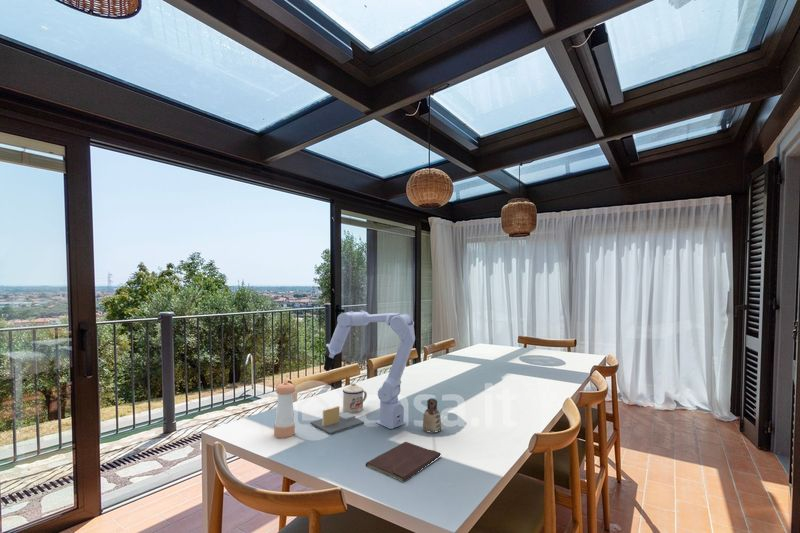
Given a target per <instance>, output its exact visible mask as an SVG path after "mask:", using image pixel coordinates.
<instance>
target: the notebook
mask: <svg viewBox="0 0 800 533" xmlns="http://www.w3.org/2000/svg"><path fill="white" fill-rule="evenodd" d="M440 455H441V456H442V453H441V452H440V451H436V450H432V449H427V448H425V447H422V446H420V445H416V444H414V443H410V442H408V441H404V442H402V443H400V444H398V445H396V446H394V447H393V448H391V449H388V450H387V451H385V452H384V453H382V454H380V455H377V456H376V457H374V458H372V459H370V460H369V461H368V460H367V461H366V463H365V466H366V467H368V468H370V469H373V470H375V471H377V472H379V471H380V473H382V474H384V473H385V474H384V475H386V474H387V475H386V476H389V475H390V476H389V477H391V476H392V478H393V477H395V478H397V479H396V480H398V479H400V480H402V481H405V480H407V479H408V478H410V477H411V476H413V475H414V474H415V475H417V474H418V473H419V472H418V471H420V470H421V469H422V468H424V467H425V466H427V465H428V464H430V463H431V462H432V461H434V460H435V459H436V458H438V457H439V456H440ZM430 465H431V464H430ZM427 467H428V466H427ZM424 469H425V468H424ZM421 471H422V470H421ZM421 471H420V472H421ZM417 472H418V473H417ZM416 473H417V474H416ZM415 475H414V476H415ZM414 476H413V477H414ZM395 478H394V479H395ZM411 478H412V477H411ZM411 478H410V479H411ZM400 480H399V481H400ZM408 480H409V479H408ZM408 480H407V481H408ZM402 481H401V482H402ZM405 482H406V481H405Z"/></svg>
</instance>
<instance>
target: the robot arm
mask: <svg viewBox="0 0 800 533" xmlns="http://www.w3.org/2000/svg"><path fill="white" fill-rule="evenodd" d="M336 322H337V324H336V327H335V329H334V332H333V334H332V337H331V340H330V342H329V343H326V345H325V347H327V348H328V352H325V354H324V366H323V370H324V371H326V372H329V371H330V370H331V368H332V367H333V365H334V363H336V362H337V361H338V359H339V358H338V357H337V356H338V355H339V354H340V353H342V350H343V347H344V344H345V342H346V340H347V337H348V334H349V332H350V330H351V327H355V326H360V327H361V326H367V325H368V324H369V323H385V324H386V325H387V327H388V326H390V328H391V330H392V331H393V332H394V333H395V334H396V335H397V336H398V338H399V340H400V343H399V345H398V349H397V351H396V353H395V356H394V359H393V361H392V364H391V367H390V370H389V372H388V375H387V377H386V379H385V380H384V382H383V383H382V386H380V388H379V389H378V391H377V397H378V399H379V402H380V403H379V409H380V410H379V419H378V420H375V423H376V424H378V425H380V426H383V427H385V428H387V429H394V428H395V429H396V428H397V427H400V426H403V425H406V422H405V421H404V418H405V416H404V415H405V409H404V406H403V405H402V404H401V403H400V402H399V395H400V393H401V384H402V380H401V379H402V376H403V373H404V370H405V368H406V365H407V363H408V360H409V358H410V355H411V352H412V349H413V346H414V344H415V341H416V335H415V328H414V325H415V322H414V320H413V318H412V316H411V315H410V314H408V313H402V314H401V313H399V312H387V313H385V312H384V313H374V314H370V313H369V312H368V311H364V309H363V310H362V309H361V310H359V311H354V310H351V311H348V312H342V313H340V314H338V315H337V319H336Z"/></svg>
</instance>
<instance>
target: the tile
mask: <svg viewBox="0 0 800 533" xmlns="http://www.w3.org/2000/svg"><path fill="white" fill-rule="evenodd" d="M339 414H340V406H339V405H338V406H333V407H329V408H326V409H322V418H321V419H322V426H328V425H331V424H334V423H338V422H339Z"/></svg>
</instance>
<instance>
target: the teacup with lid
mask: <svg viewBox="0 0 800 533" xmlns="http://www.w3.org/2000/svg"><path fill="white" fill-rule="evenodd" d="M342 392H343V393H342V394H343V396H342V410H343V411H344V412H348V413H350V414H354V413H355V414H356V413H360V412H362V411H363V408H364V403H363V402H365V401H366V399H367V396H368V393H367V391H366V390H364V388H363V387H362V386H359V385H356V383H355V382H351V383H350V385H348V386H346V387H344V388H343V389H342Z"/></svg>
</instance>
